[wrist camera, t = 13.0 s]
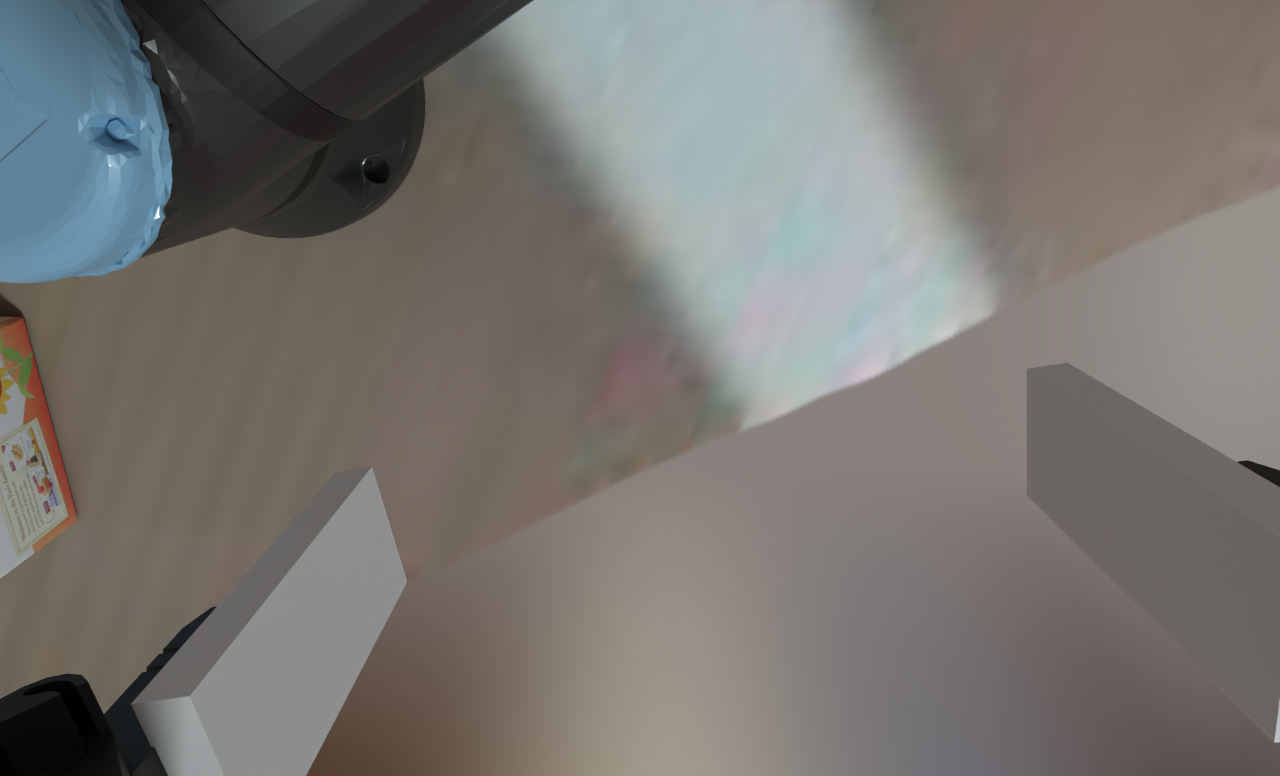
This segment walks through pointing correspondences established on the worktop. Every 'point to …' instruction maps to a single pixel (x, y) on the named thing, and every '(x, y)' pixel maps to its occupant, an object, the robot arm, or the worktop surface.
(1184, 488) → the robot arm
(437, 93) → the worktop surface
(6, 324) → the cracker box
